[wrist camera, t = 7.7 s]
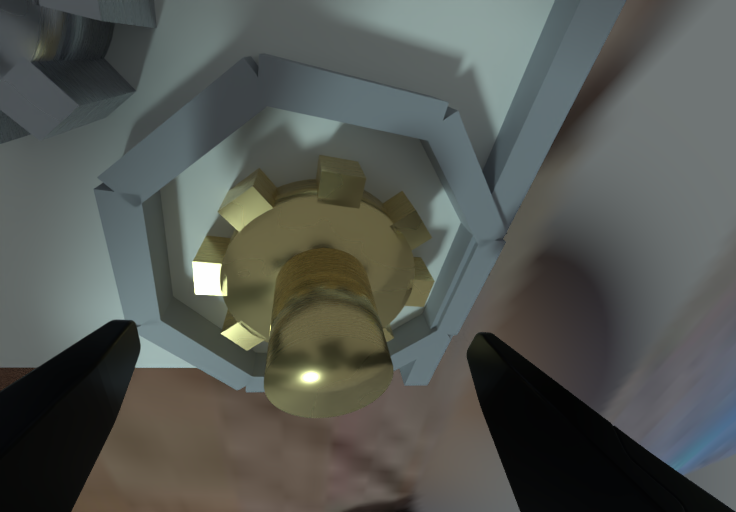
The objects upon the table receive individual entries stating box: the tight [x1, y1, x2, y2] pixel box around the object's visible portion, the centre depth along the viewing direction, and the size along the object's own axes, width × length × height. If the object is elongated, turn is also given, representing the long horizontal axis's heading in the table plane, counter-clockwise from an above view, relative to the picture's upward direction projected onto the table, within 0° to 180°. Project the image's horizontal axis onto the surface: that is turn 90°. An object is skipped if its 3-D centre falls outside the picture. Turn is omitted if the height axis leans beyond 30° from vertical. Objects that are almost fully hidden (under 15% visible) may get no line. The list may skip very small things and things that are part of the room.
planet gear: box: [193, 155, 435, 418], centre depth 9 cm, size 8×8×5 cm
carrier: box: [0, 0, 626, 392], centre depth 9 cm, size 18×17×2 cm
